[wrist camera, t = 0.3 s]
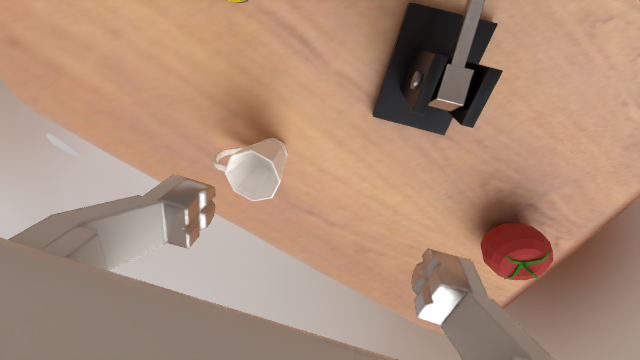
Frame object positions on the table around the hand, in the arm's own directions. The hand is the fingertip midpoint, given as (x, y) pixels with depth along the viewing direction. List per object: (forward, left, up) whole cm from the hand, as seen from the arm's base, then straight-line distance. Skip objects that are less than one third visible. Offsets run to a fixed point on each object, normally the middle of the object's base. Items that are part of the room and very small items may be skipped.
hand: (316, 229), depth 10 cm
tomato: (+14, +26, -27) cm, 40 cm away
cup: (+11, -11, -27) cm, 31 cm away
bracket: (-4, +7, -27) cm, 28 cm away
